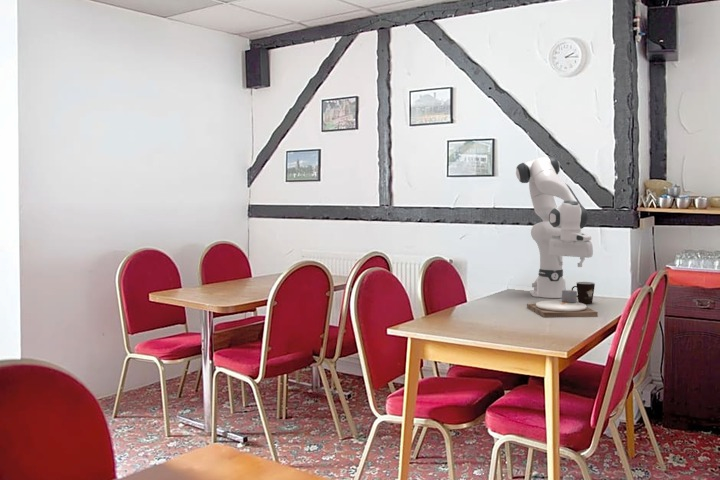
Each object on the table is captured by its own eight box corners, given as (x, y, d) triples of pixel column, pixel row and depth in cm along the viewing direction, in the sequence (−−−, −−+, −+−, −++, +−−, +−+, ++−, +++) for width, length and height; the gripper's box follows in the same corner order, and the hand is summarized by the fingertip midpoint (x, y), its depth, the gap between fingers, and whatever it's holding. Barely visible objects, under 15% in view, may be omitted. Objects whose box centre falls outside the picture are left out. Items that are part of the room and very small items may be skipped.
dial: (574, 313, 305) (574, 298, 304) (527, 307, 319) (527, 293, 318) (595, 306, 322) (595, 292, 321) (550, 301, 336) (550, 288, 336)
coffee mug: (592, 301, 348) (592, 281, 347) (596, 304, 340) (596, 284, 339) (568, 301, 349) (568, 281, 349) (571, 304, 341) (572, 283, 340)
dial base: (526, 307, 331) (526, 303, 331) (576, 307, 333) (576, 302, 333) (543, 317, 307) (544, 312, 307) (597, 316, 309) (597, 311, 309)
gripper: (546, 235, 328) (545, 265, 329) (588, 237, 315) (588, 268, 316) (552, 235, 333) (551, 264, 334) (594, 236, 320) (594, 267, 321)
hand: (569, 266), depth 325 cm, fingers open, 8 cm apart
